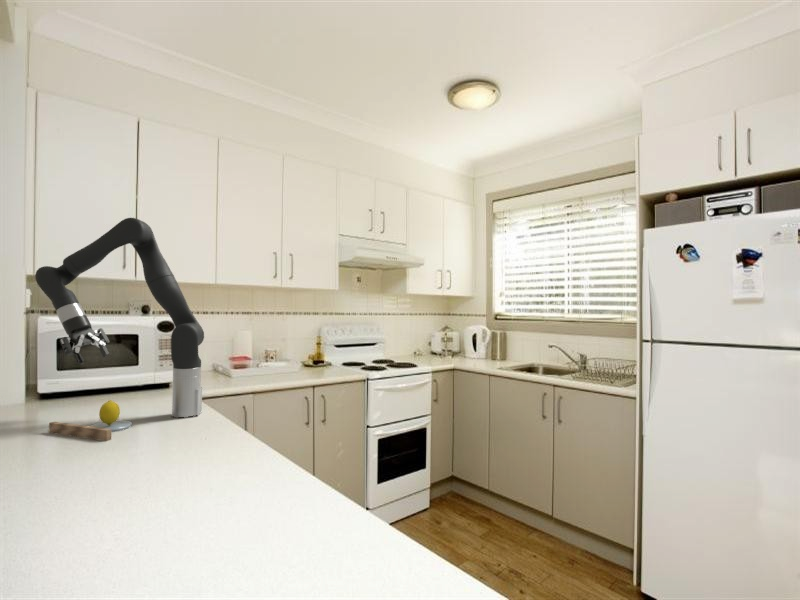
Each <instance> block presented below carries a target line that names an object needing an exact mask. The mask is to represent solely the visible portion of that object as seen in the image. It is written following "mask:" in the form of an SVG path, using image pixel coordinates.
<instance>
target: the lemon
mask: <svg viewBox="0 0 800 600" xmlns="http://www.w3.org/2000/svg"><path fill="white" fill-rule="evenodd" d="M120 413H121V410H120V406H119V404H118V403H117V402H116V401H112V400H108V401H106V402H105V403H103V404H102V405H101V406H100V410H99V414H98V415H99V420H100V421H101V422H103V423H106V424H107V425H111V424H112V423H113V422H115V421H118V419H119V417H120Z"/></svg>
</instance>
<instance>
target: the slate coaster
mask: <svg viewBox="0 0 800 600" xmlns="http://www.w3.org/2000/svg"><path fill="white" fill-rule="evenodd" d="M89 426H91V427H98V428H106V429H112V433H113V432H114V433H115V432H120V431H124V430H126V428H127V429H129V427H130V426H131V427H132V422H131V421H129V420H116V421H115V422H113V423H112V424H111V425H107V424H106V423H103V422H102V421H101V422H97V423H94V424H91V425H89ZM131 427H130V428H131ZM123 429H124V430H123Z"/></svg>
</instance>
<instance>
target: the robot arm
mask: <svg viewBox="0 0 800 600" xmlns="http://www.w3.org/2000/svg"><path fill="white" fill-rule="evenodd" d="M128 244H130V245H131V246H132V247H133V248H134V250H135V252H136V253H137V254H138V258H139V259H140V261H141V264H142V271H143V275H144V280H145V283H146V285H147V287H148V289H149V291H150V293H151V294H152V297H154V299H155V301H156V303H158V304H159V306H161V308H162V309H163V310H164V311H165V312H166V313H167V314H168V315H169V317H170V318H171V320H172V323H173V325H174V328H173V330H172V332H171V335H170V337H171V338H170V359H171V361H172V396H171V397H172V399H171V400H172V401H171V402H172V403H171V404H172V405H171V417H173V416H174V417H173V418H178V417H184V418H189V417H188V416H193V415H198V414H199V413H200V412H201V411H202V410H203V407H202V406H203V405H202V404H203V387H202V386H201V385H202V384H201V383H202V360H201V358H200V356H199V346H200V345H201V344H202V343H203V342H204V339H205V331H204V329H203V327H202V325H200V323H199V321H198V320H197V318H196V316H195V315H194V314H193V312H192V310H191V308H190V307H189V305H188V303H187V300H186V298H185V296H184V293H183V292H182V290H181V288H180V285H179V283H178V281H177V279H176V277H175V275H174V273H173V272H172V270H171V268H170V266H169V265H168V262H167V261H166V259H165V257H164V256H163V254H162V252H161V250H160V248H159V244H158V243H157V240H156V238H155V235H154V231H153V230H152V228H151V226H150V225H149V224H148V223H146V222H145V221H143V220H141V219H138V218H136V217H127V218H124V219H122V220H121V221H119V222H118V223H116V224H115V225H114V226H113V227H112V228H111V229H109V230H108V231H107V232H105V233H104V234H103V235H101V236H100V237H99V238H97V239H95V240H94V241H93V242H91V243H90V244H88V245H86V246H84V247H83V248H81V249H79V250H77V251H75V252H73V253H71V254H70V255H68V256H66V257H65V258H64V259H63V261H62V265H60V266H58V267H54V266H48V265H45V266H41V267H39V268H38V269H37V270H36V272H35V276H34V277H35V281H36V284H37V285H38V287H39V289H41V291H43V293H44V295H45V296H46V297H47V298H48V299H49V300H50V302H51V304H52V305H53V308H54V309H55V312H56V314H57V317H58V319H59V321H60V323H61V325H62V327H63V329H64V331H65V333H66V335H67V336H63V337H62V338H61V339H59V343H60V345H61V347H62V351H63V353H64V355H65V356H73V359H74V360H75V362H76V363H77V364H78V365H79V366H80V365H83V364H85V362H86V361H85V359H84V357H83V356H82V354H81V352H80V350H81V347H84V346H89V345H92V346H96V347H97V348H98V349H99V352H100V353H101V356H102V357H103V358H106V357H108V356H109V355H110V352H109V350H108V348H107V346H106V345H107V344H109V343H110V339H109V337H108V336H107V334H106V332H105V331H104V329H103V328H101V327H100V328H98V329H96V330H94V329H93V328H92V324H91V322H90V320H89V318H88V316H87V315H86V313H85V310H84V308H83V307H82V306H81V304H80V302H79V301H78V298H77V296H76V294H75V292H73V291H72V290H71V289H69V288H67V287H66V286H67V285H69V284H71V283H72V282H73V281H74V280H76V278H78V277H79V276H80V275H81V274H83V273H86V272H87V271H88V270H90V269H92V268H94V267H95V266H97V265H98V264H99V263H101V262H102V261H103V260H104V259H105V258H107V256H108V255H109V254H110V253H112V252H113V251H115V250H117V249H118V248H120V247H123V246H125V245H128ZM70 342H71V343H73V345H72V346H71V344H70ZM202 412H203V411H202ZM202 412H201V413H202ZM201 413H200V414H201ZM200 414H199V415H200ZM199 415H198V416H199ZM193 417H194V416H193Z"/></svg>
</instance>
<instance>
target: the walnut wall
mask: <svg viewBox="0 0 800 600" xmlns="http://www.w3.org/2000/svg"><path fill="white" fill-rule="evenodd" d="M48 427H49V429H48V433H49V432H50V433H51V434H55V433H57V434H56V435H62V434H64V436H69V435H71V436H70V437H76V438H85V439H90V440H91V439H92V440H97V441H104V442H105V441H106V442H107V441H111V440H112V433H113V432H112V429H106V428H98V427H91V426H90V425H89V426H88V425H82V424H74V423H66V422H60V421H51V422H49V425H48ZM50 433H49V434H50Z"/></svg>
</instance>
